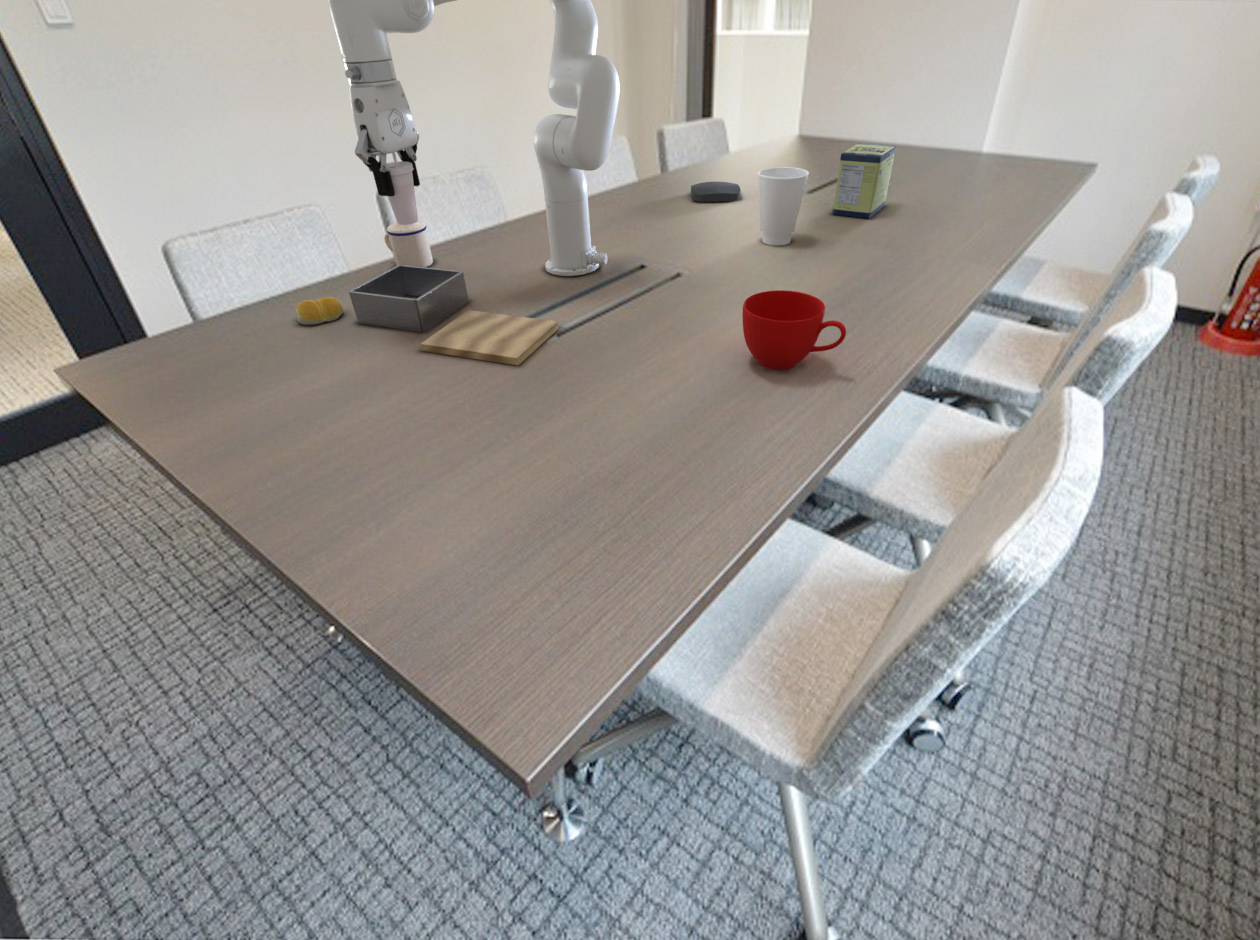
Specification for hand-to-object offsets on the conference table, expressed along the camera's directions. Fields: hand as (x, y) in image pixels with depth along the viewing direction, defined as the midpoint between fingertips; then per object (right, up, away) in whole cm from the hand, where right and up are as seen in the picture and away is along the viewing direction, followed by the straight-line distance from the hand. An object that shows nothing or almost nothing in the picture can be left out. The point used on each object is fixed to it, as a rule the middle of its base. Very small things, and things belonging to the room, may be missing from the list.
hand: (399, 189), depth 115 cm
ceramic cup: (+68, -33, -7) cm, 76 cm away
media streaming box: (+68, +34, +82) cm, 112 cm away
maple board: (+16, -26, +5) cm, 31 cm away
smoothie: (0, -5, +4) cm, 6 cm away
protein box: (+106, +22, +65) cm, 126 cm away
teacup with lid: (-12, 0, +41) cm, 43 cm away
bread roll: (-22, -19, +16) cm, 34 cm away
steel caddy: (-3, -18, +17) cm, 25 cm away
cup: (+78, +7, +45) cm, 91 cm away
